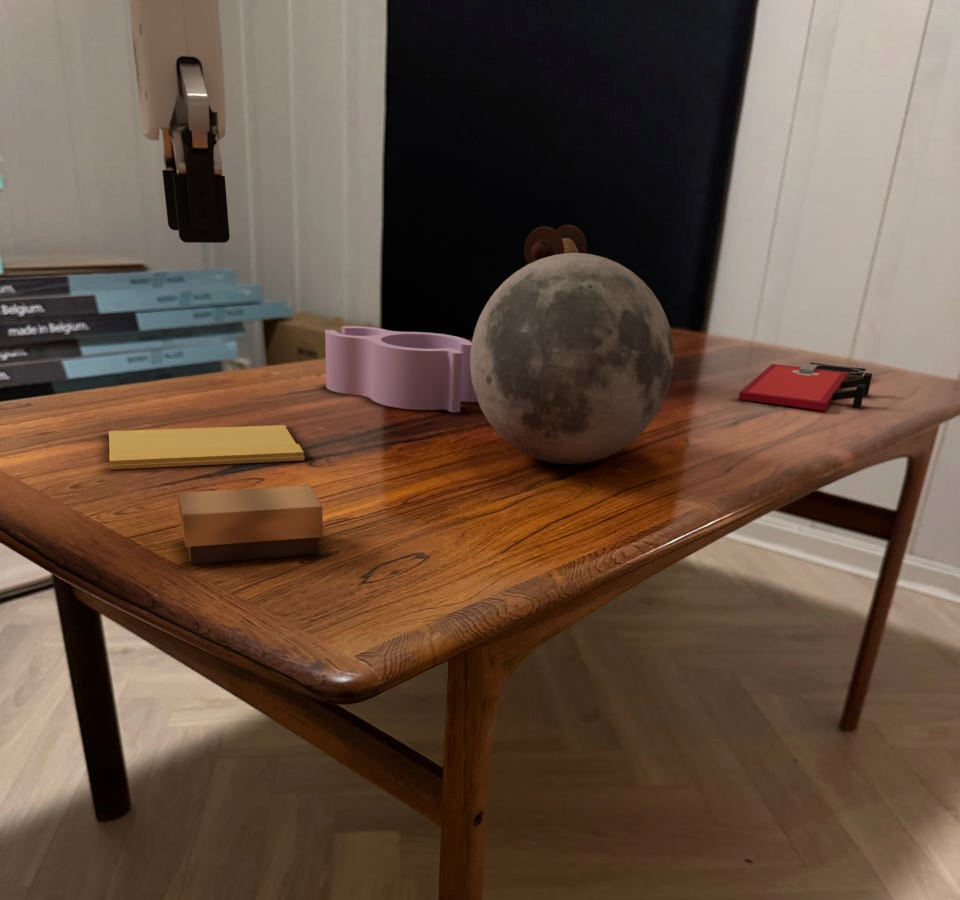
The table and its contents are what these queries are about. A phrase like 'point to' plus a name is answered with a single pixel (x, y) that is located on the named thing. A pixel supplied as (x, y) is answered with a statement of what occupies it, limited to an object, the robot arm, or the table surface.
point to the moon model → (571, 358)
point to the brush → (250, 523)
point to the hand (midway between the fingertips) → (197, 235)
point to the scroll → (554, 242)
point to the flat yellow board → (201, 446)
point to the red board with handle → (807, 385)
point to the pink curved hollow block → (400, 367)
